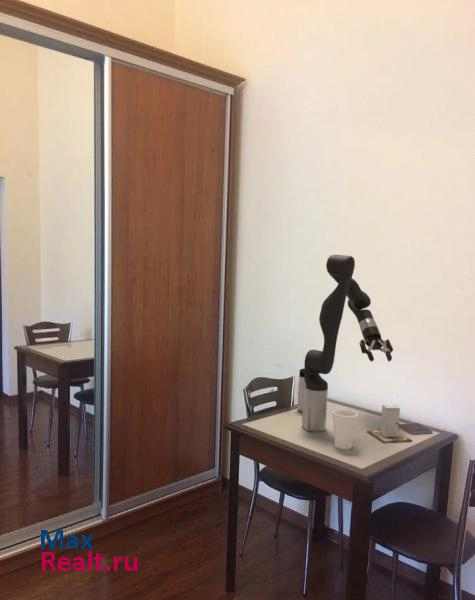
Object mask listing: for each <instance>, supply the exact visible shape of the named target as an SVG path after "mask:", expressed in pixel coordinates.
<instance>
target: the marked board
mask: <svg viewBox="0 0 475 600" xmlns="http://www.w3.org/2000/svg"><path fill="white" fill-rule="evenodd" d="M380 430H381V429H379V430H378V429H377V430H375V429H374V430H367V431H366V433H367V434H369V435H371V436H372V437H374V438H375V439H376V440H378V441H379V442H380V443H383V444H391V443H392V444H393V443H395V444H396V443H406V442H408V443H409V442H410V443H411V442H413V440H412V439H411V438H410V437H408V436H407V435H404V434H403V433H402V432H400V431H398V436H397V437H384V436H383V435H382V434H381V433H380Z"/></svg>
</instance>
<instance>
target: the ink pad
mask: <svg viewBox="0 0 475 600" xmlns="http://www.w3.org/2000/svg"><path fill="white" fill-rule="evenodd" d="M398 428H400V429H402V430H403V431H405V432H407V433H408V434H410V435H424V434H433V430H432V429H431V428H428V426H425V425H424V424H421V423H419V422H411V423H410V422H409V423H399V427H398Z"/></svg>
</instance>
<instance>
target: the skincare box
mask: <svg viewBox="0 0 475 600" xmlns="http://www.w3.org/2000/svg"><path fill="white" fill-rule="evenodd" d="M400 408H401V407H399V406H397V405H396V404H394V405H393V404H382V405H381V416H380V420H381V421H380V429H379V430H380V433H381V434H382V435H383V436H384V437H397V436H398V432H399V428H400V427H399V424H400V412H401V411H400V410H401V409H400Z"/></svg>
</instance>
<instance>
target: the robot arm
mask: <svg viewBox="0 0 475 600" xmlns="http://www.w3.org/2000/svg"><path fill="white" fill-rule="evenodd" d="M355 267H356V261H355V258H354V257H353V256H352V255H345V254H343V255H342V254H332V255H329V256H328V258H327V260H326V272H327V273H328V275H329V276H330V277H331V278H332V279H333V280H334V281H335V282H336V283H337V285H336V287H335V288H334V290H333V291H332V292H331V293H330V294H329V295H327V297H326V298H325V300H324V301H323V302H322V304H321V309H320V313H319V316H318V321H319V322H318V323H319V325H320V328H321V331H322V335H323V347H322V350H317V349H310V350H308V351H307V353H306V354H305V357H304V368H303V369H305V383H306V391H305V404H304V405H303V413H302V417H301V418H302V419H301V427H302V428H303V429H305V431H307V432H315V433H316V432H319V433H321V432H324V431H325V430H326V428H327V427H326V425H327V409H328V408H327V406H328V390H329V383H328V381H326V380H325V379H324V378H323V377H322V376H321V375H329V374H330V372H332V369H333V367H334V364H335V363H334V362H335V358H336V357H335V356H336V348H337V341H338V336H339V331H340V327H341V322H342V319H343V314H344V309H345V304H346V299H348V300H347V306H348V308H349V310H351V312H352V313H353V314H354V316H355V317H356V319H357V322H358V325H359V329H360V331H361V334H362V337H363V339H361V340H360V341H359V343H358V344H359V347H360V350H361V353H362V354H366V355H367V359H368V360H369V362H374V360H375V358H374V355H373V352H372V351H380V352H381V353H382V352H383V353H384V354H385V357H386V360H387V362H391V361H392V359H393V357H392V352H393V351H394V348H393V346H392V344H391V341H390V340H389V339H386V340H383V338H382V335H381V332H380V330H379V327H378V324H377V322H376V321H375V319H374V315H373V313H372V312H371V310H369V309H367V308H369V307H370V306H371V304H372V303H371V298H370V296H369V295H368V294H367V293H366V292H364V291H363V290H362V289H361V287H360V285H359V283H358V282H357V281H356V280H355V278H352V277H353V275H354V271H355ZM367 347H368V348H367ZM320 374H321V375H320Z"/></svg>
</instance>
